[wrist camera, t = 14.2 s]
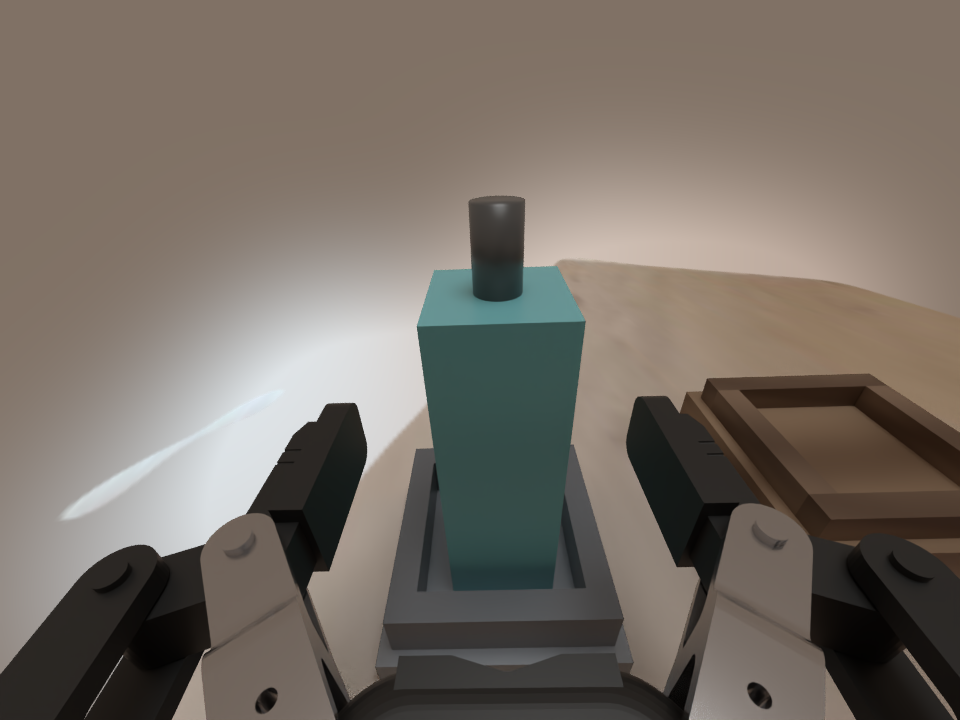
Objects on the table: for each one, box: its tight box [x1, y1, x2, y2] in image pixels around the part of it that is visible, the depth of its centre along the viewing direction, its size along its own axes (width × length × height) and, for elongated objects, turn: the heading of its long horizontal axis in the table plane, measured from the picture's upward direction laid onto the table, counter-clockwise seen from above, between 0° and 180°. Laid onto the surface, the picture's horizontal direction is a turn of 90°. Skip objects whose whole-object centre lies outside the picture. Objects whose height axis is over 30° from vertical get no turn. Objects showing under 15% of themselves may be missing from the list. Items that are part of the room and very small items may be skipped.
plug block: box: [417, 196, 586, 591], centre depth 13 cm, size 4×4×14 cm
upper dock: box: [680, 374, 960, 579], centre depth 17 cm, size 9×9×6 cm
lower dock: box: [375, 445, 634, 679], centre depth 17 cm, size 9×9×4 cm
